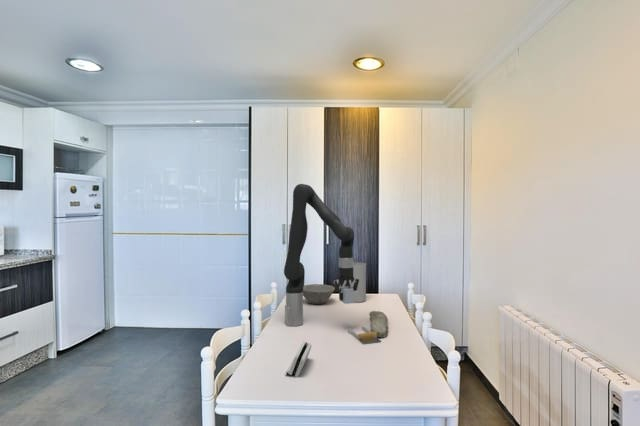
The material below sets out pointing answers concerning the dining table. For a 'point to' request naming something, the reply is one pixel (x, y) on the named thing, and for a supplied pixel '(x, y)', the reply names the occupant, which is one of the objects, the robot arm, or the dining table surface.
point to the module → (347, 295)
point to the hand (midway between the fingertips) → (346, 299)
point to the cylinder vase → (359, 274)
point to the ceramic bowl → (317, 293)
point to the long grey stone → (378, 323)
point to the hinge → (299, 359)
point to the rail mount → (365, 336)
